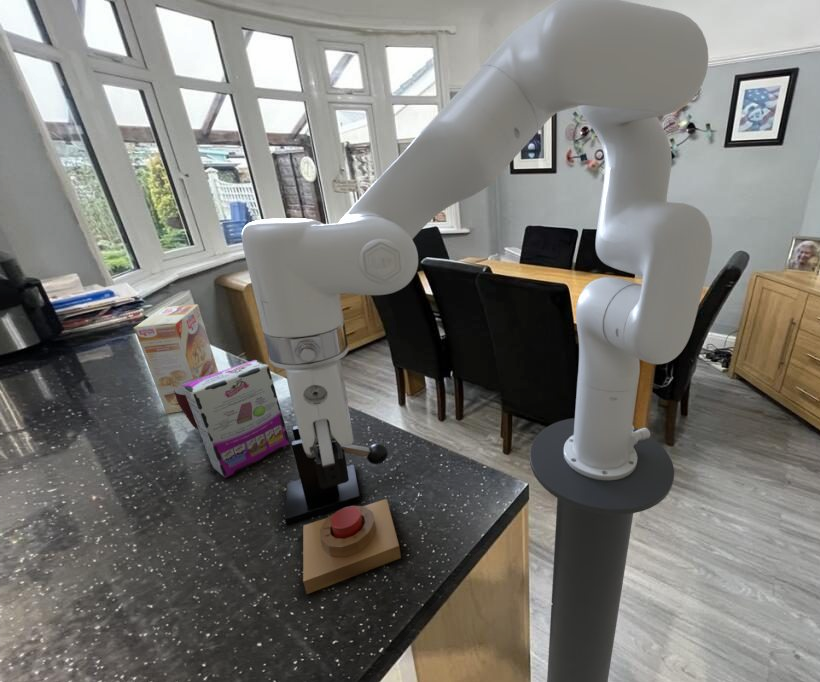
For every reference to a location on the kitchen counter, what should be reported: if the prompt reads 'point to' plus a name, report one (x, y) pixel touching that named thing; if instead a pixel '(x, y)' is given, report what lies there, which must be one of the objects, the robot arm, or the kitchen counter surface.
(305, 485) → the switch bracket
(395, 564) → the kitchen counter surface
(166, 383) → the coffeecake box
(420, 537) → the kitchen counter surface
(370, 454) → the switch lever
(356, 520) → the button
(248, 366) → the candy bar box
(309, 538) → the button block
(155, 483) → the kitchen counter surface
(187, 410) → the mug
